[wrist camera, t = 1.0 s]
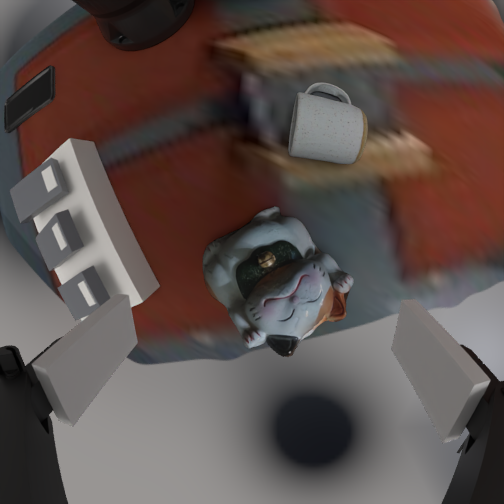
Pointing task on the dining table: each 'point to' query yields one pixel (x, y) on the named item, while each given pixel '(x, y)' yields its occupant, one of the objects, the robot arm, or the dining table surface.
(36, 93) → the phone
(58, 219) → the rocker
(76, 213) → the switch unit
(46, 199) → the block
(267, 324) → the lucky cat figurine
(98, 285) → the rocker
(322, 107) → the ceramic mug
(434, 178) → the dining table surface
